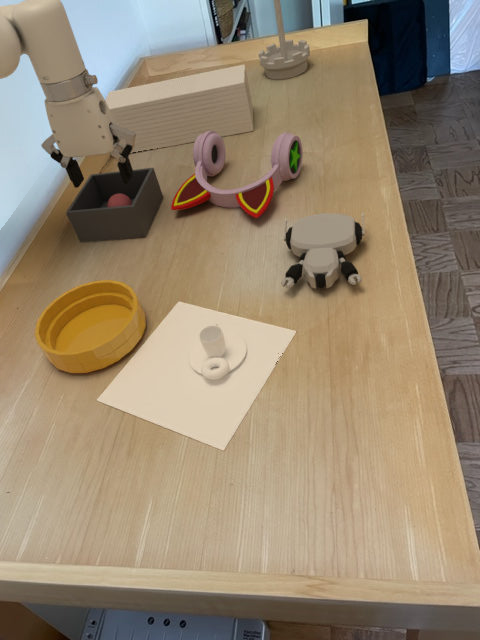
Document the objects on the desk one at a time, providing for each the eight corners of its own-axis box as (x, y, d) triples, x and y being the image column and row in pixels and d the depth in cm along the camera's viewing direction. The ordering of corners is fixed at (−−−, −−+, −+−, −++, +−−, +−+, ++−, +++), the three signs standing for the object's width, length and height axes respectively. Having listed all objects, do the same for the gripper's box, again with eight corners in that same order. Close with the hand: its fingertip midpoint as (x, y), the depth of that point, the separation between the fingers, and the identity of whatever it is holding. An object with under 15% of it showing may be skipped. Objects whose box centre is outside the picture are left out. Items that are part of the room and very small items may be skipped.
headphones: (301, 125, 98) (256, 170, 85) (305, 176, 104) (264, 225, 91) (209, 124, 107) (154, 165, 93) (217, 171, 113) (167, 216, 99)
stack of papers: (253, 111, 126) (244, 64, 119) (253, 131, 119) (244, 82, 111) (125, 135, 131) (109, 91, 124) (117, 156, 124) (99, 110, 116)
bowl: (32, 376, 76) (17, 355, 73) (71, 303, 87) (59, 282, 84) (129, 375, 73) (118, 353, 70) (158, 299, 83) (149, 277, 80)
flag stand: (316, 72, 136) (302, -70, 115) (266, 85, 136) (243, -54, 116) (305, 56, 145) (290, -78, 125) (258, 68, 146) (236, -63, 125)
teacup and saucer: (225, 389, 68) (218, 368, 65) (175, 372, 71) (166, 352, 69) (257, 341, 73) (252, 319, 70) (208, 327, 76) (201, 307, 74)
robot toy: (366, 298, 76) (364, 229, 85) (364, 275, 72) (363, 206, 82) (280, 301, 79) (288, 234, 88) (275, 279, 75) (284, 212, 85)
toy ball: (108, 223, 101) (101, 202, 98) (115, 209, 104) (109, 189, 101) (131, 223, 100) (124, 202, 97) (138, 209, 103) (132, 188, 100)
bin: (80, 242, 100) (65, 212, 95) (103, 203, 109) (90, 174, 104) (145, 237, 97) (133, 206, 92) (163, 197, 106) (153, 167, 101)
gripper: (124, 71, 86) (154, 167, 98) (29, 83, 90) (68, 175, 102) (109, 89, 81) (142, 189, 92) (9, 102, 85) (53, 196, 96)
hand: (103, 181), depth 97 cm, fingers open, 9 cm apart
